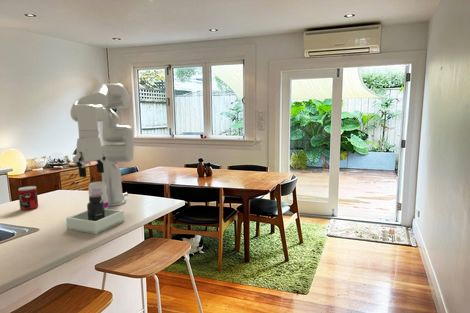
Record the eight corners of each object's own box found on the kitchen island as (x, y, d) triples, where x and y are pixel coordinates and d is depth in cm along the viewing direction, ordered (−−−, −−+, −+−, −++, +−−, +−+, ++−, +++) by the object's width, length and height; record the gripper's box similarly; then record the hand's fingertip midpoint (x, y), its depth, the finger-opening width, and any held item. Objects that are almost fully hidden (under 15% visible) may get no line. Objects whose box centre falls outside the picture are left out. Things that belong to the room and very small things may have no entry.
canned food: (16, 210, 165) (14, 189, 163) (31, 205, 172) (29, 185, 170) (27, 211, 162) (24, 190, 160) (41, 207, 169) (39, 186, 168)
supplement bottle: (99, 226, 136) (97, 198, 134) (84, 225, 137) (82, 197, 136) (108, 220, 143) (106, 194, 141) (94, 219, 144) (92, 193, 142)
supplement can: (104, 209, 163) (102, 180, 161) (111, 213, 157) (109, 182, 155) (87, 213, 157) (85, 183, 155) (94, 217, 151) (92, 185, 149)
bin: (96, 217, 150) (95, 207, 149) (124, 221, 144) (123, 210, 144) (67, 229, 135) (66, 218, 135) (96, 234, 130) (95, 222, 129)
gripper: (97, 132, 144) (100, 170, 147) (64, 136, 128) (68, 178, 131) (110, 133, 141) (113, 171, 144) (78, 136, 126) (82, 179, 128)
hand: (92, 174), depth 137 cm, fingers open, 9 cm apart
